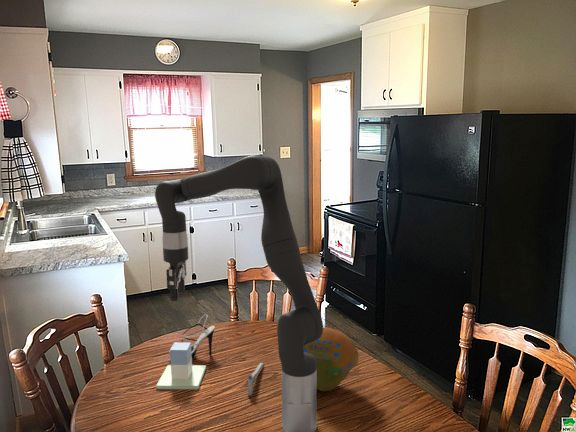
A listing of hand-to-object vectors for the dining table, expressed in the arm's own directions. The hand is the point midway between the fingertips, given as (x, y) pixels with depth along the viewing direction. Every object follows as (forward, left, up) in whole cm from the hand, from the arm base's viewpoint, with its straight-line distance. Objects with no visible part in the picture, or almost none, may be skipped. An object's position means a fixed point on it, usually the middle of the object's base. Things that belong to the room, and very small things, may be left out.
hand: (178, 295), depth 152 cm
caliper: (0, -24, -29) cm, 37 cm away
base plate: (0, 0, -28) cm, 28 cm away
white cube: (0, 0, -27) cm, 27 cm away
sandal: (+16, 0, -28) cm, 32 cm away
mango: (-4, -46, -28) cm, 54 cm away
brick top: (0, 0, -22) cm, 22 cm away
